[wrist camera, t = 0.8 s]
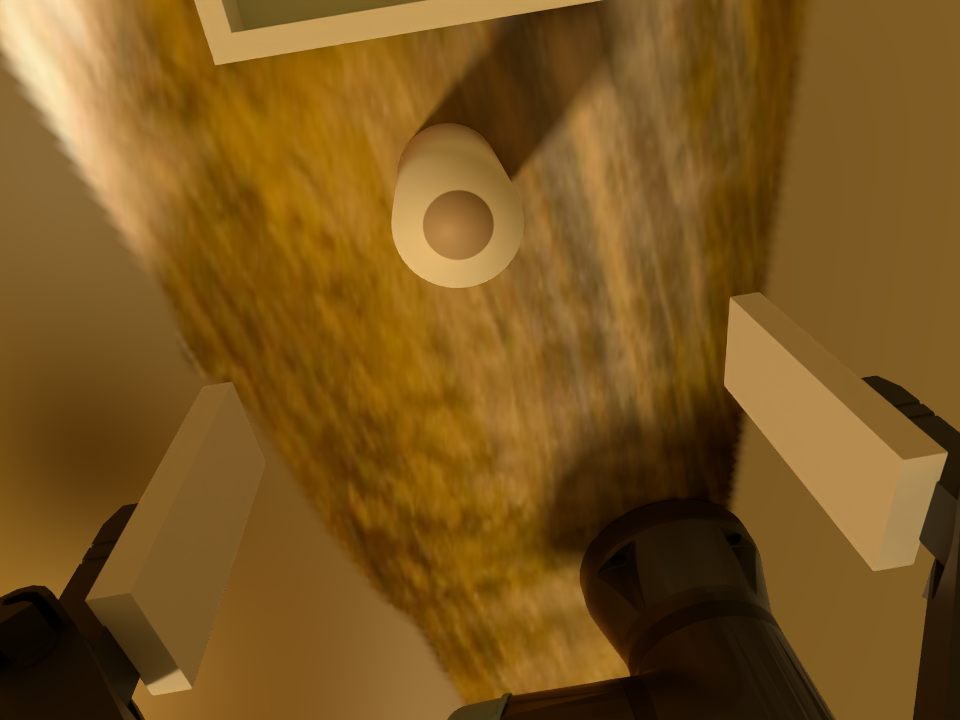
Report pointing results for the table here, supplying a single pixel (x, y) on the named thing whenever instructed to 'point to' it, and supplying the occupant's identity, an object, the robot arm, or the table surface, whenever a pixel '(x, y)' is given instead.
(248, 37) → the rectangular tray
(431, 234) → the kitchen roll
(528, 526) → the table surface
